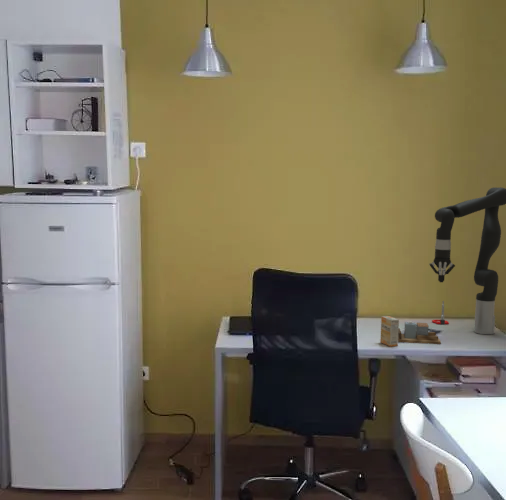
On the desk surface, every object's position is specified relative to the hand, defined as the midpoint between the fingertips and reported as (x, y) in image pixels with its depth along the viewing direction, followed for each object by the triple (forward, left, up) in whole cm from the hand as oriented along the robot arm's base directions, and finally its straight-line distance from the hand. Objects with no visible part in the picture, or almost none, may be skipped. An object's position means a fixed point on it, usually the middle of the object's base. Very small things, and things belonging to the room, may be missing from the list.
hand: (441, 282), depth 333 cm
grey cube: (+10, +14, -26) cm, 31 cm away
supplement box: (+27, +25, -27) cm, 46 cm away
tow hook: (-5, -27, -27) cm, 39 cm away
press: (+12, +14, -27) cm, 33 cm away
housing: (+16, +14, -26) cm, 33 cm away
